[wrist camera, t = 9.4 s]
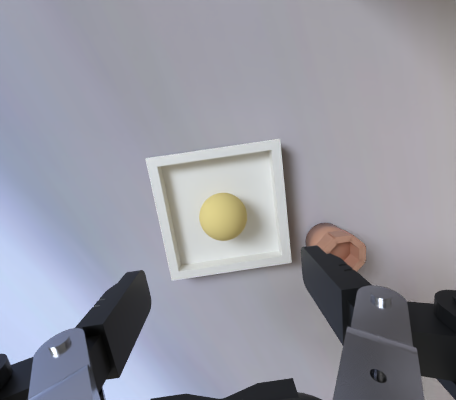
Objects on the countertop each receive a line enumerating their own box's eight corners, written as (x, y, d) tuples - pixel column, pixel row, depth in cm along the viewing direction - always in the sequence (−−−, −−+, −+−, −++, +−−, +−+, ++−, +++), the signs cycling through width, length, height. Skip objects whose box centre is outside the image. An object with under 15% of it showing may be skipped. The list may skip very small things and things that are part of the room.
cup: (304, 225, 27) (321, 239, 22) (340, 220, 27) (365, 232, 22) (307, 259, 27) (323, 279, 23) (342, 254, 27) (366, 273, 23)
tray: (153, 158, 24) (145, 158, 22) (274, 140, 24) (280, 138, 22) (176, 269, 27) (171, 280, 25) (285, 253, 27) (291, 262, 25)
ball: (198, 192, 24) (192, 201, 19) (241, 186, 24) (246, 193, 19) (205, 234, 25) (201, 252, 20) (247, 228, 25) (253, 244, 20)
